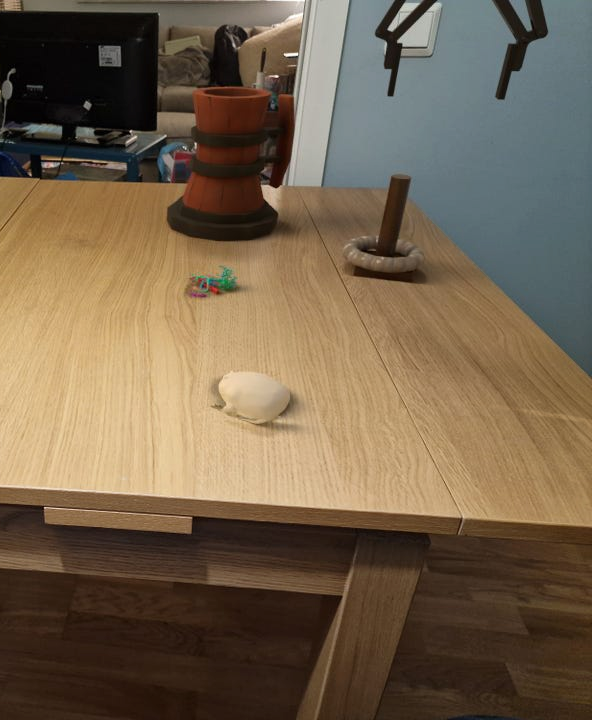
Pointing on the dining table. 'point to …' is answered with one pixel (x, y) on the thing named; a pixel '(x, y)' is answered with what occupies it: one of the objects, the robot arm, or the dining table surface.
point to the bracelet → (383, 264)
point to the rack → (390, 229)
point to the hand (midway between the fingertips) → (443, 97)
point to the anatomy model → (209, 280)
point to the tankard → (232, 165)
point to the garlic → (253, 396)
